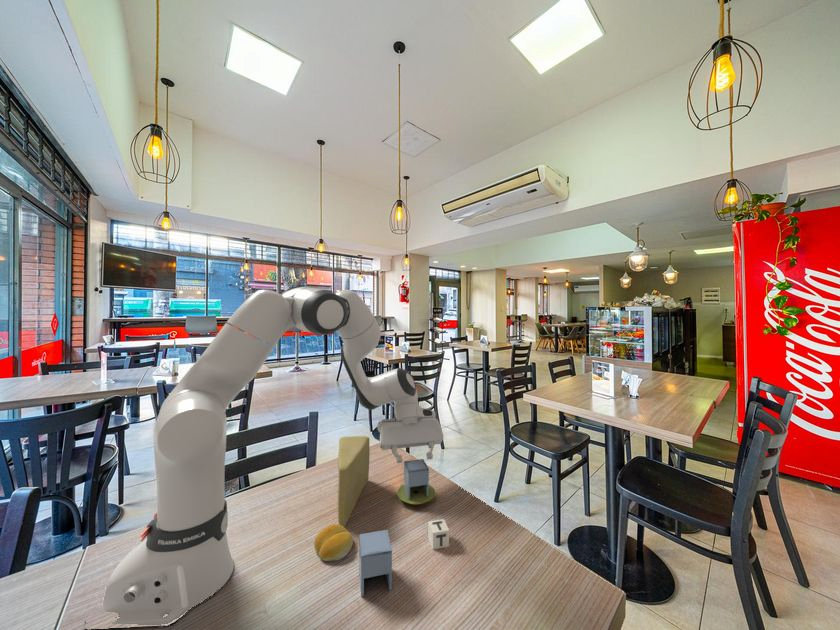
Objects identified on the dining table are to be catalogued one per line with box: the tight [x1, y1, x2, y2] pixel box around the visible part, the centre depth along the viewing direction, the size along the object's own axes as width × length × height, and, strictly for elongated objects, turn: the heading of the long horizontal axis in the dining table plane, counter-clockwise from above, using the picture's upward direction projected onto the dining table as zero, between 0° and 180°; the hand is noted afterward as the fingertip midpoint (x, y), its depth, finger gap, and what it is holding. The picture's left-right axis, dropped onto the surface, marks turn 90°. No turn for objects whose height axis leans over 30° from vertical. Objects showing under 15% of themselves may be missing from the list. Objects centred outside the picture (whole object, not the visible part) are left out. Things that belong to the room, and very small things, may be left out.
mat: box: [396, 484, 436, 505], centre depth 92 cm, size 11×11×2 cm
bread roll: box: [313, 523, 354, 562], centre depth 73 cm, size 8×9×4 cm
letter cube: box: [427, 518, 450, 550], centre depth 75 cm, size 4×4×4 cm
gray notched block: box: [358, 529, 393, 598], centre depth 64 cm, size 6×6×8 cm
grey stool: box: [403, 458, 430, 499], centre depth 92 cm, size 6×6×8 cm
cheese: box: [337, 435, 371, 527], centre depth 90 cm, size 22×10×15 cm, turn 4°
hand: (415, 460), depth 94 cm, fingers open, 8 cm apart
